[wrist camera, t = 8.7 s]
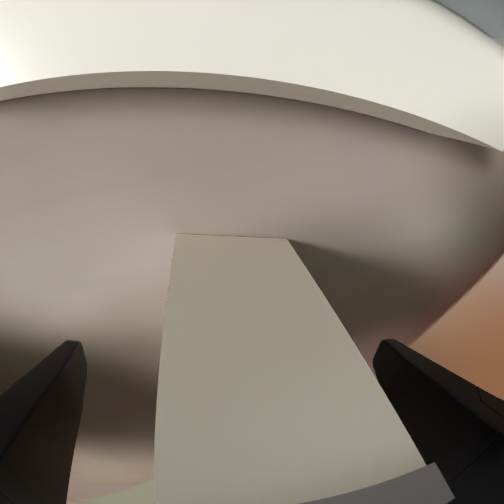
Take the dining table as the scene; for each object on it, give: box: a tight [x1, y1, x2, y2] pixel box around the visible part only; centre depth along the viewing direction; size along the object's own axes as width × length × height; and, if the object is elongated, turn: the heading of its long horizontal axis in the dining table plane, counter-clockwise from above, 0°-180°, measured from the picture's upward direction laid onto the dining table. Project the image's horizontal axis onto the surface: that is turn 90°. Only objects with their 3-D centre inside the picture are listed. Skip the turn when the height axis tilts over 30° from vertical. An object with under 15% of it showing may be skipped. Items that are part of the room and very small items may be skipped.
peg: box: [154, 234, 455, 504], centre depth 8 cm, size 4×4×10 cm
